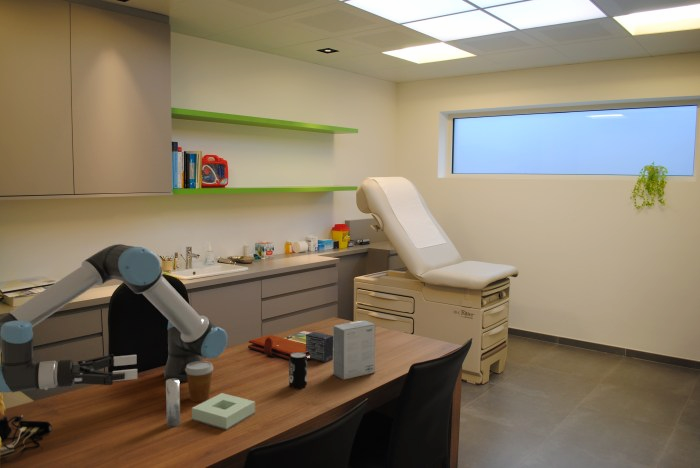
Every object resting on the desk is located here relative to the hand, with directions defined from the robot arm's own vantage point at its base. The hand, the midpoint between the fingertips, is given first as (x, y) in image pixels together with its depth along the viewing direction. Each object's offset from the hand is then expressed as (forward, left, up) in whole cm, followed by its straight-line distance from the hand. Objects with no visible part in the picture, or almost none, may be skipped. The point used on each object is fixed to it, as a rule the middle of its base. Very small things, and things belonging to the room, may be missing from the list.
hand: (137, 366), depth 166 cm
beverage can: (+22, +54, -20) cm, 62 cm away
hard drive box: (+34, +76, -20) cm, 86 cm away
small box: (+13, +84, -20) cm, 88 cm away
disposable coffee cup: (-1, +27, -20) cm, 34 cm away
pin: (+6, +8, -20) cm, 22 cm away
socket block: (+16, +20, -20) cm, 33 cm away
